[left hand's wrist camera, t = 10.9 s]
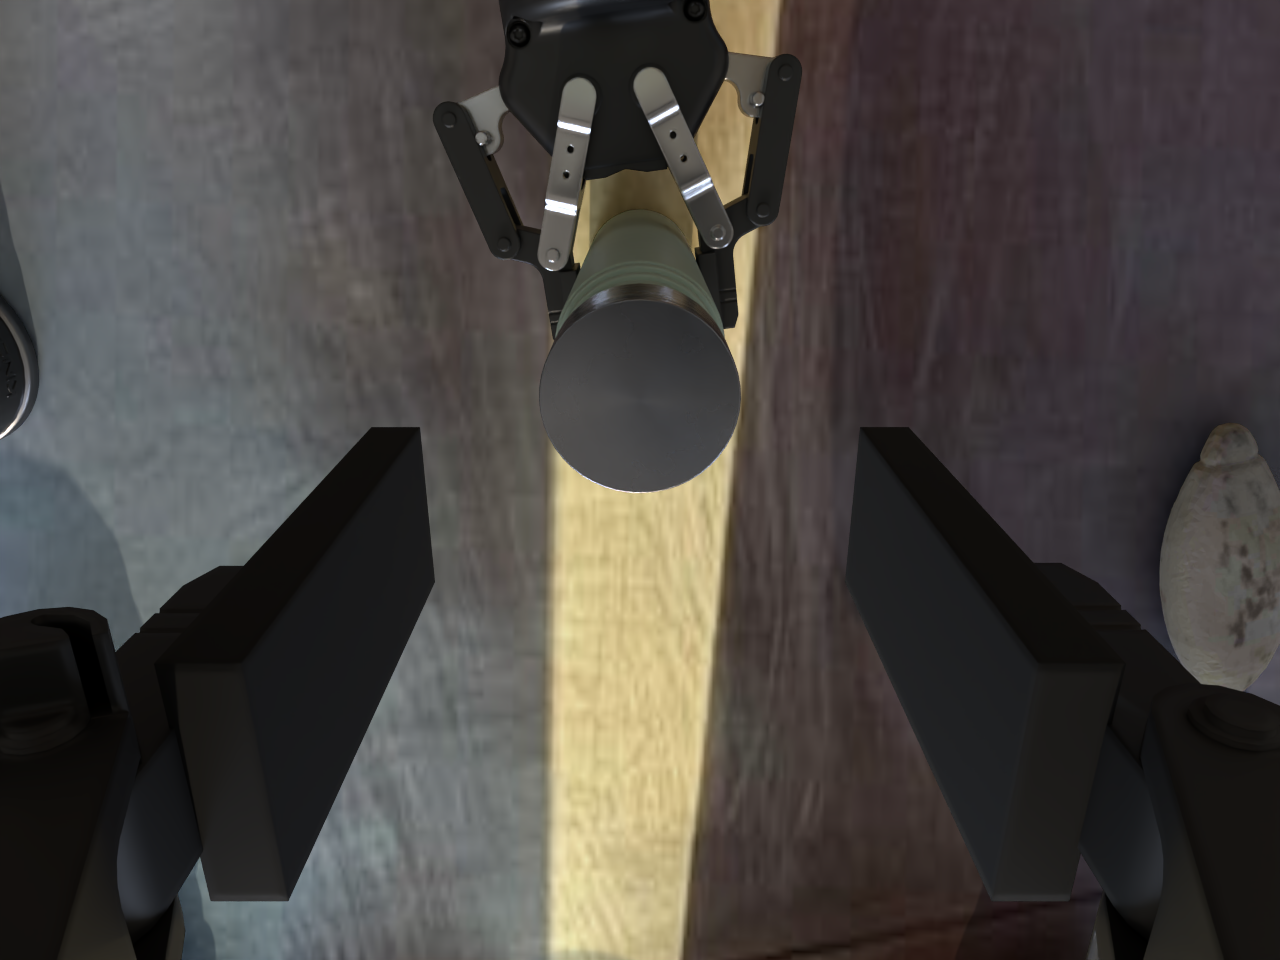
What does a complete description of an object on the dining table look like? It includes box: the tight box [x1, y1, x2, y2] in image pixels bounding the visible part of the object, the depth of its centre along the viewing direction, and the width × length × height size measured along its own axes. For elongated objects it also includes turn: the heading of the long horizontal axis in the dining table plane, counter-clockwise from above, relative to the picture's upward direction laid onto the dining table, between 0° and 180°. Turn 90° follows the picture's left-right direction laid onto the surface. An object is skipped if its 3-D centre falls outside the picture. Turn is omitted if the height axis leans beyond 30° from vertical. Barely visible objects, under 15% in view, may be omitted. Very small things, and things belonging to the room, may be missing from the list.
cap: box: [539, 283, 741, 493], centre depth 21 cm, size 5×5×2 cm
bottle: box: [555, 209, 725, 338], centre depth 31 cm, size 5×5×23 cm
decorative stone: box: [1159, 423, 1280, 691], centre depth 45 cm, size 6×16×3 cm, turn 13°
